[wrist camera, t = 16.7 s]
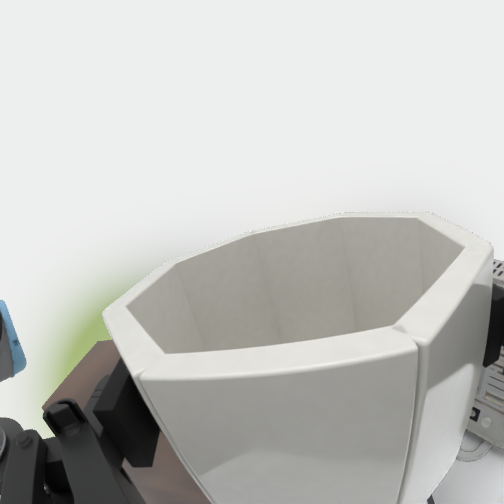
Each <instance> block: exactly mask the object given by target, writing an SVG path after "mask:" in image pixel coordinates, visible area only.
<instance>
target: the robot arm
mask: <svg viewBox="0 0 504 504" xmlns="http://www.w3.org/2000/svg"><path fill="white" fill-rule="evenodd" d="M502 346H503V347H504V288H503V287H501V286H499V285H498V286H497V284H495V283H493V284H492V299H491V310H490V319H489V327H488V335H487V342H486V348H485V354H484V359H483V364H482V366H484V367H485V368H487V367H488V366H490V365H491V364H493V363H495V362H496V361H498V360H499V357H500V352H501V347H502ZM25 367H26V358H25V356H24V353H23V350H22V347H21V345H20V343H19V340H18V337H17V334H16V332H15V329H14V326H13V323H12V320H11V318H10V315H9V312H8V309H7V306H6V304H5V302H4V301H3V300H0V382H1V381H3V380H5V379H7V378H9V377H14V376H15V374H17V373H18V372H20V371H22V370H23V369H24V368H25ZM502 375H504V367H503V371H502ZM43 419H44V421H45V422H46V423H47V425H48V426H49V428H50V429H51V430H52V432H53V433H54V434H55V436H56V437H51V438H47V439H42V438H41V436H40V435H39V434H38V432H37V431H36V430H33V429H30V430H25V431H22V432H20V433H18V434H17V435H16V437H15V438H14V439H13V441H12V443H11V446H10V450H9V455H8V459H7V464H6V468H5V473H4V479H3V484H2V490H1V497H0V504H147V503H146V502H145V500H144V499H143V497H142V496H141V494H140V493H139V491H138V489H137V488H136V486H135V485H134V483H133V481H132V480H131V478H130V477H129V475H128V473H127V472H126V470H125V469H124V468H123V467H122V464H123V461H124V458H125V459H126V460H127V461H128V463H129V464H130V465H131V466H132V468H144V467H152V466H153V462H154V457H155V452H156V448H157V443H158V438H159V434H160V430H159V428H158V426H157V425H156V423H155V421H154V420H153V418H152V416H151V415H150V413H149V411H148V409H147V408H146V406H145V404H144V402H143V400H142V399H141V397H140V395H139V393H138V391H137V389H136V387H135V385H134V383H133V382H132V380H131V378H130V376H129V374H128V372H127V370H126V368H125V366H124V364H123V362H122V359H121V357H120V359H119V361H118V363H117V365H116V366H115V368H114V370H113V372H112V374H107V375H106V376H105V377H104V378H102V379H101V380H100V381H99V382H98V384H97V386H96V388H95V390H94V392H93V393H92V395H91V398H90V399H89V400H88V402H87V404H86V406H85V408H84V410H83V412H82V410H81V408H80V407H79V405H78V404H77V402H76V401H75V400H74V399H72V398H63V399H60V400H57V401H55V402H54V403H52V404H51V405H50V406H48V407H47V408H46V410H45V411H44V413H43ZM7 448H8V437H7V435H6V433H5V432H4V431H3V429H2V428H1V427H0V463H1V461H2V460H3V458H4V456H5V454H6V451H7ZM44 487H45V488H44Z"/></svg>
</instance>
